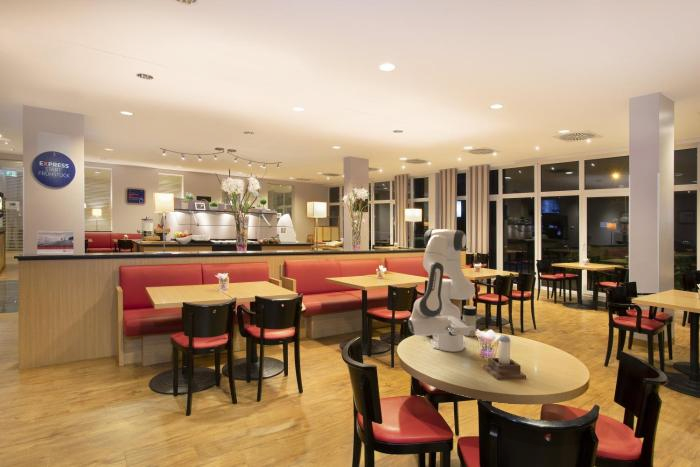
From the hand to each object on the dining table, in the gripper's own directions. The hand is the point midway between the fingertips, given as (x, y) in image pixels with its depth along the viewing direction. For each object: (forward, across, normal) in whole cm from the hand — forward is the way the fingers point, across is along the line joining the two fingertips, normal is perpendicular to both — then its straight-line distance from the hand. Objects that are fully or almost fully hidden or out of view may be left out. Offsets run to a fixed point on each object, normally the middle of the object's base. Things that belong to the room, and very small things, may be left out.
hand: (470, 324), depth 186 cm
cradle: (+15, -5, +22) cm, 27 cm away
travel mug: (+25, +56, +24) cm, 66 cm away
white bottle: (+15, -5, +21) cm, 26 cm away
